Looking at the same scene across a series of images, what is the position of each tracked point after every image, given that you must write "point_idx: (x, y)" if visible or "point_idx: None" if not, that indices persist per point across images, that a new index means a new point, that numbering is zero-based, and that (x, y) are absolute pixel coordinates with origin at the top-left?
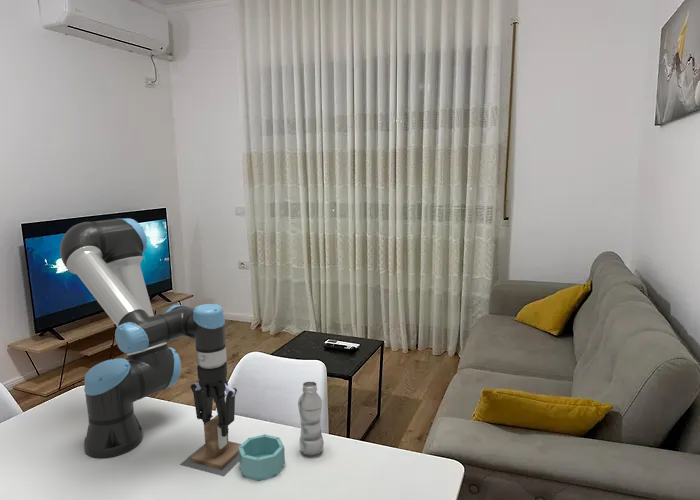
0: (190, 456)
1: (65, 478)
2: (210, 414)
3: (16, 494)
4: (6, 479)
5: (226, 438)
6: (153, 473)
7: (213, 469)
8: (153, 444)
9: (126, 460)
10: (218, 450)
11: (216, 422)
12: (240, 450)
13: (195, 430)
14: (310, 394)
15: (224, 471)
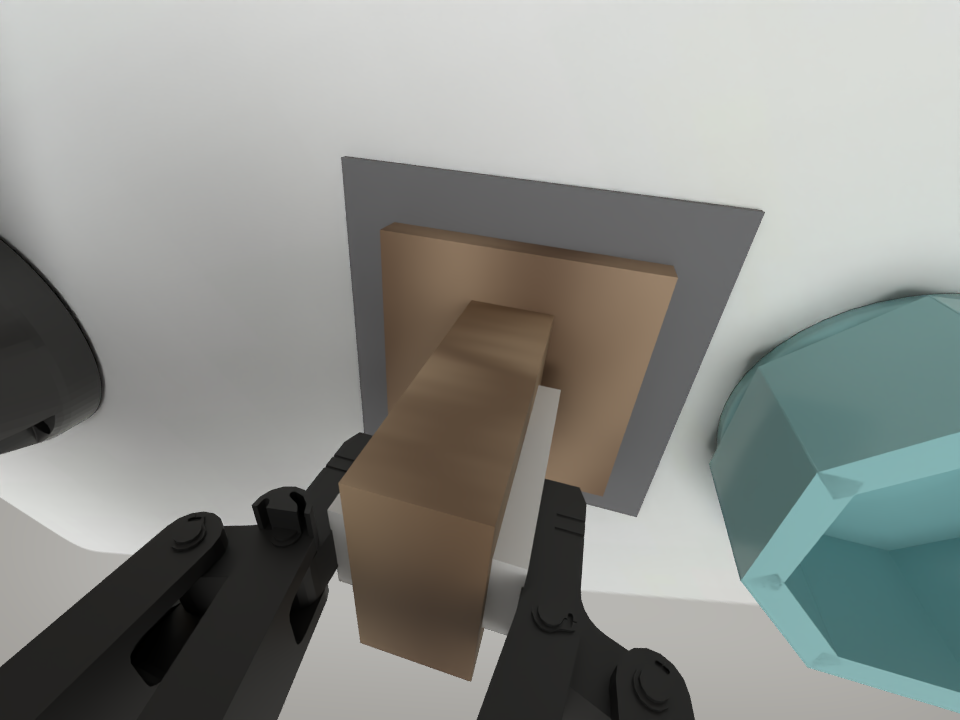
0: (365, 386)
1: (113, 506)
2: (289, 599)
3: (99, 551)
4: (18, 508)
5: (554, 421)
6: None
7: None
8: (121, 303)
9: (155, 423)
10: None
11: (443, 621)
12: (775, 614)
13: (159, 81)
14: None
15: (623, 486)
